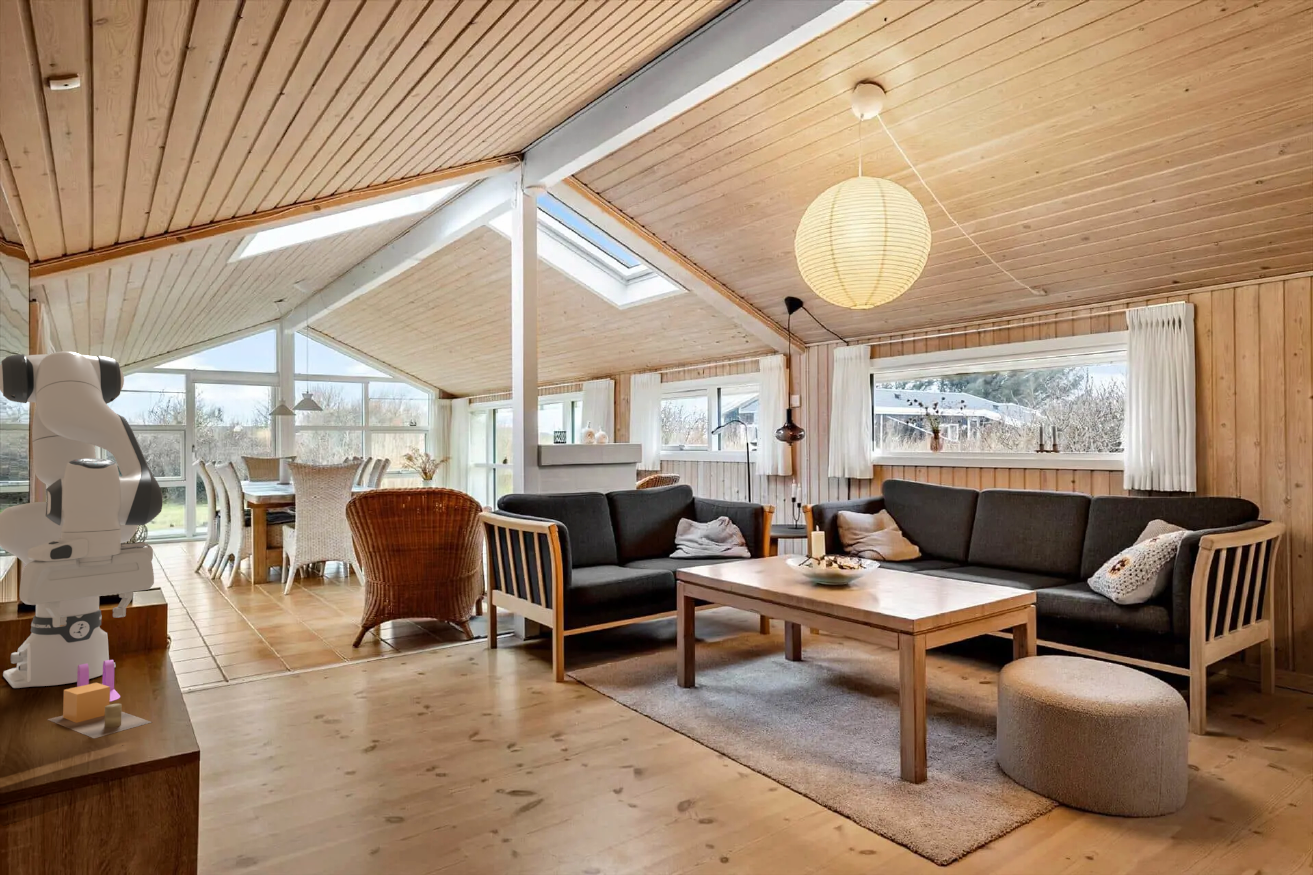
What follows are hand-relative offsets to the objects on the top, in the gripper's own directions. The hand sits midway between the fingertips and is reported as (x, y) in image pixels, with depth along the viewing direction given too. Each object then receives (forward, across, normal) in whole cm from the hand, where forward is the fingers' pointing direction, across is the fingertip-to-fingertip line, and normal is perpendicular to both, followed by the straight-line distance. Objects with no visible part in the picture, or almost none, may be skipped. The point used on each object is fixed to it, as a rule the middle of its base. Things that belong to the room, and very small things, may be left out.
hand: (90, 621), depth 137 cm
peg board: (+18, 0, +4) cm, 19 cm away
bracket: (+18, -7, -13) cm, 23 cm away
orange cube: (+17, 0, 0) cm, 17 cm away
